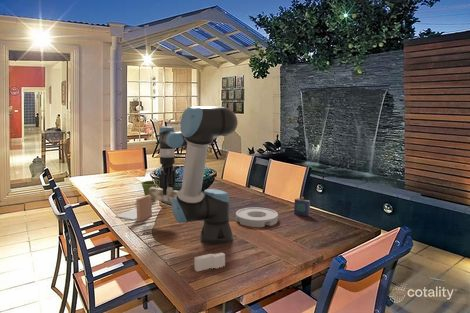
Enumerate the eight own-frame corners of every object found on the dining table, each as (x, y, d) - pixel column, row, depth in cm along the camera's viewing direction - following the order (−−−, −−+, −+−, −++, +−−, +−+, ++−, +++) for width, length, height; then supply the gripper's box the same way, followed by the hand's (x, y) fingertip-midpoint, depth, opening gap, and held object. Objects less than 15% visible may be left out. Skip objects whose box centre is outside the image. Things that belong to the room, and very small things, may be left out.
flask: (310, 215, 202) (310, 197, 201) (308, 216, 200) (309, 198, 198) (294, 213, 207) (295, 195, 205) (293, 214, 204) (293, 196, 203)
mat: (152, 212, 205) (152, 211, 205) (133, 220, 191) (133, 219, 191) (134, 209, 211) (134, 208, 211) (115, 216, 196) (115, 215, 196)
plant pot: (145, 196, 241) (145, 180, 239) (162, 197, 239) (161, 180, 238) (138, 200, 229) (138, 184, 228) (156, 201, 228) (155, 184, 226)
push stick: (180, 202, 185) (180, 191, 185) (177, 203, 183) (177, 192, 182) (152, 197, 193) (152, 186, 192) (149, 198, 190) (149, 188, 189)
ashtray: (272, 230, 179) (272, 222, 179) (229, 224, 187) (229, 217, 186) (281, 216, 201) (281, 209, 201) (243, 212, 209) (243, 205, 208)
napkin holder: (188, 274, 132) (188, 260, 131) (196, 261, 143) (196, 248, 142) (228, 277, 130) (228, 263, 129) (232, 264, 141) (232, 250, 140)
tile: (151, 215, 199) (151, 195, 198) (140, 220, 190) (139, 199, 189) (148, 215, 200) (148, 194, 199) (136, 220, 191) (136, 198, 190)
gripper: (170, 153, 192) (171, 195, 196) (151, 157, 178) (152, 202, 181) (181, 154, 189) (182, 197, 193) (163, 158, 175) (164, 204, 178)
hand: (168, 199), depth 187 cm, fingers closed on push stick, 3 cm apart
